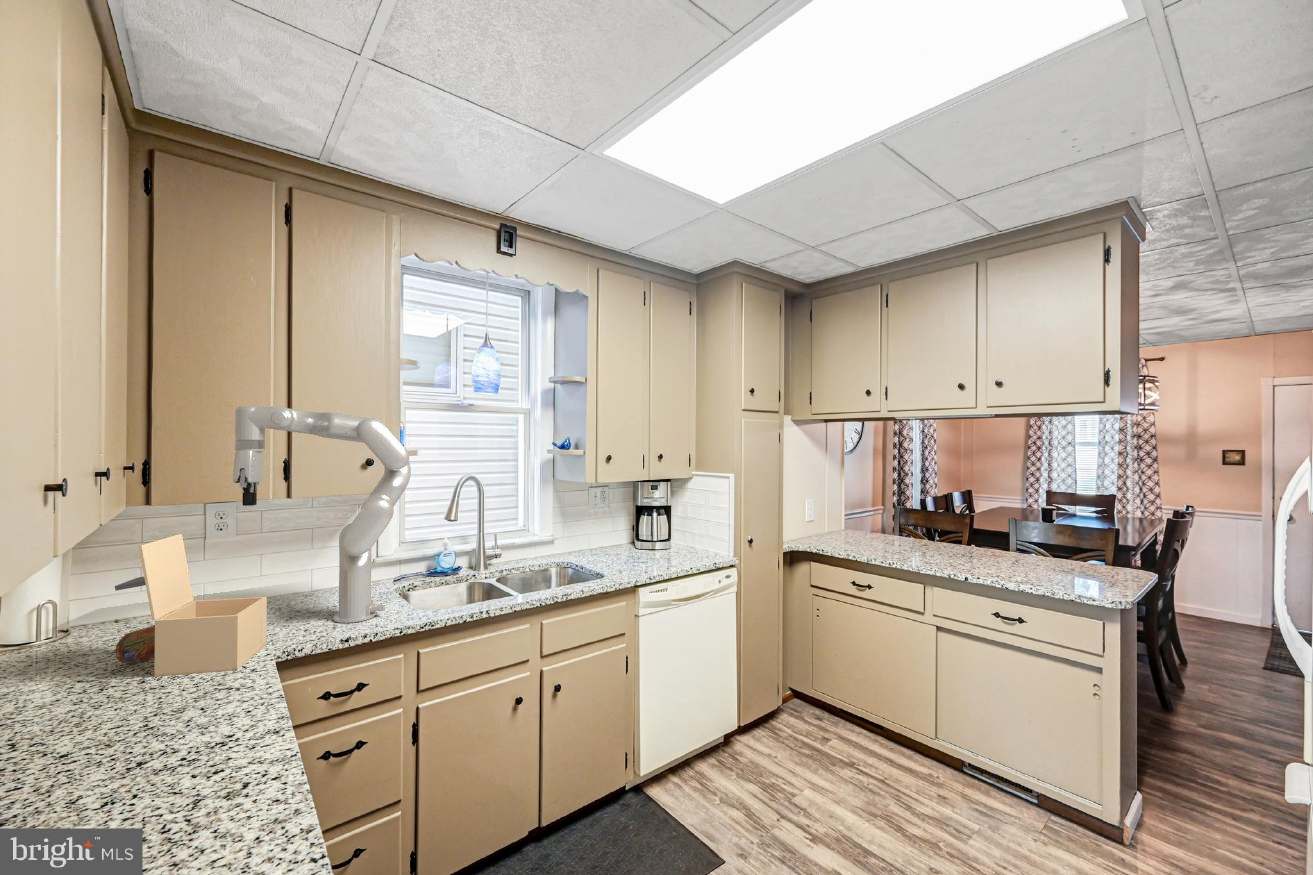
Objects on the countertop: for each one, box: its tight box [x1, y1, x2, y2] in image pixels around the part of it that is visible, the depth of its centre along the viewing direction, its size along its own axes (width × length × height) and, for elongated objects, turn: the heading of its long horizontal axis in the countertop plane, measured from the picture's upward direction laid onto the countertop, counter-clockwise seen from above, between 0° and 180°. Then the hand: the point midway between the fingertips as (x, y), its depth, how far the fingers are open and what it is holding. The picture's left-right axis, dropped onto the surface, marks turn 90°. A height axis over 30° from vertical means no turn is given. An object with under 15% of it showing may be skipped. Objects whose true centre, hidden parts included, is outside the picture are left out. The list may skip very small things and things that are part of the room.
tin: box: [115, 624, 155, 665], centre depth 154 cm, size 15×3×8 cm, turn 168°
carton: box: [153, 596, 268, 677], centre depth 153 cm, size 18×18×14 cm
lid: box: [114, 533, 195, 621], centre depth 149 cm, size 19×18×10 cm
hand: (249, 505), depth 175 cm, fingers closed
